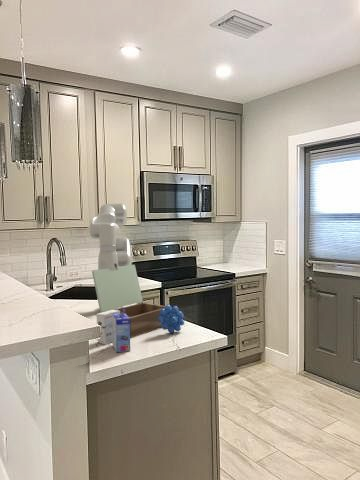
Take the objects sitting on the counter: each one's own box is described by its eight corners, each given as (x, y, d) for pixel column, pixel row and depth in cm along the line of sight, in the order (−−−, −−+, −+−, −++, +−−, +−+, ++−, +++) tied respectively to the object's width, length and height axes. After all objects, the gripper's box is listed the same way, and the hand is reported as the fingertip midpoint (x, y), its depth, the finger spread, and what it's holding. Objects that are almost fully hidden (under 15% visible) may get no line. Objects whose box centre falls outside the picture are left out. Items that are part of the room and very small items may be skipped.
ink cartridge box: (131, 351, 143) (130, 312, 143) (116, 353, 142) (114, 313, 141) (127, 343, 153) (125, 306, 152) (112, 345, 151) (111, 308, 150)
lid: (101, 311, 172) (99, 312, 173) (142, 301, 190) (140, 302, 191) (93, 269, 174) (90, 270, 175) (134, 263, 192) (132, 264, 193)
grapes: (162, 337, 159) (161, 308, 158) (156, 333, 165) (155, 305, 164) (188, 333, 163) (187, 304, 163) (182, 329, 169) (181, 301, 169)
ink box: (113, 337, 162) (112, 308, 161) (121, 339, 159) (120, 310, 158) (97, 342, 155) (95, 313, 154) (105, 344, 152) (103, 314, 151)
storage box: (103, 330, 172) (102, 312, 172) (143, 318, 190) (142, 302, 190) (131, 337, 160) (130, 318, 160) (171, 324, 178) (170, 307, 178)
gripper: (91, 249, 188) (93, 287, 189) (111, 250, 178) (113, 290, 179) (104, 248, 193) (106, 285, 194) (124, 249, 183) (126, 288, 184)
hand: (109, 287), depth 186 cm, fingers closed
